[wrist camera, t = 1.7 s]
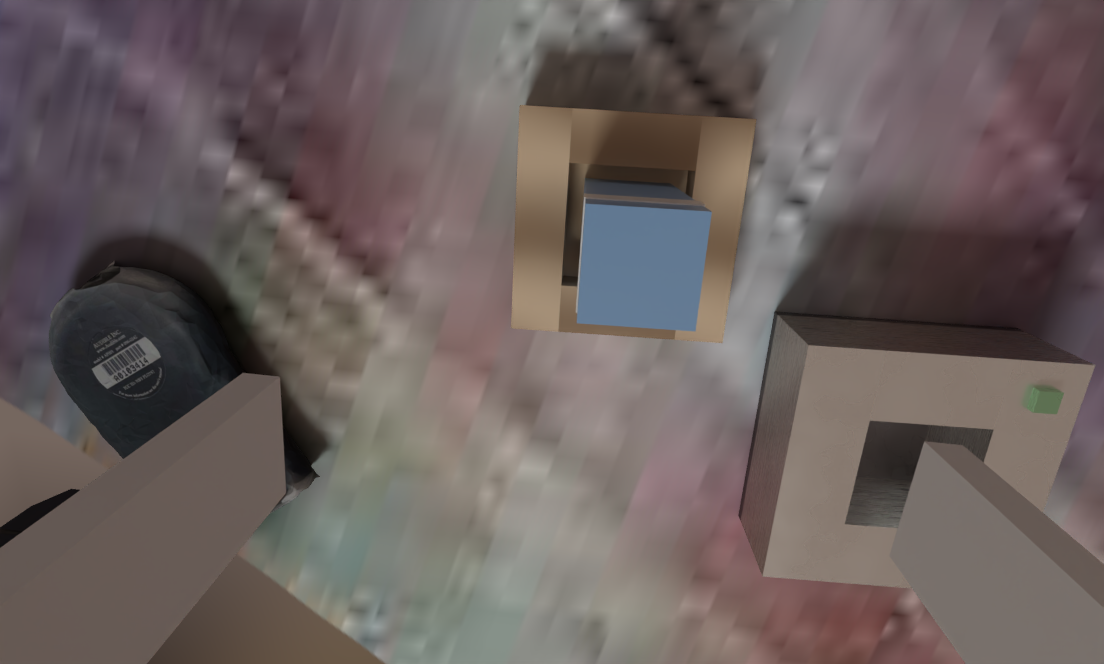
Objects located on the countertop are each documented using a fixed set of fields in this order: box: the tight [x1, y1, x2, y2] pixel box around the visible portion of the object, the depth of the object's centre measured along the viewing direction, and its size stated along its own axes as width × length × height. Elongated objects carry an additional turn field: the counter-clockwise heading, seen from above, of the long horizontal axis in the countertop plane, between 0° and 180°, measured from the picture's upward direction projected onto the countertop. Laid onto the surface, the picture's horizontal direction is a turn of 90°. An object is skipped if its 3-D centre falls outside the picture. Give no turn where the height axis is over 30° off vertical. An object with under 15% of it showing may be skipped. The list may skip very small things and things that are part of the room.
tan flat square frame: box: [511, 105, 756, 343], centre depth 29 cm, size 10×10×2 cm
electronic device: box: [49, 261, 320, 513], centre depth 33 cm, size 9×6×15 cm
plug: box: [576, 178, 712, 331], centre depth 25 cm, size 4×4×10 cm
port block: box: [739, 312, 1095, 588], centre depth 31 cm, size 12×12×5 cm
